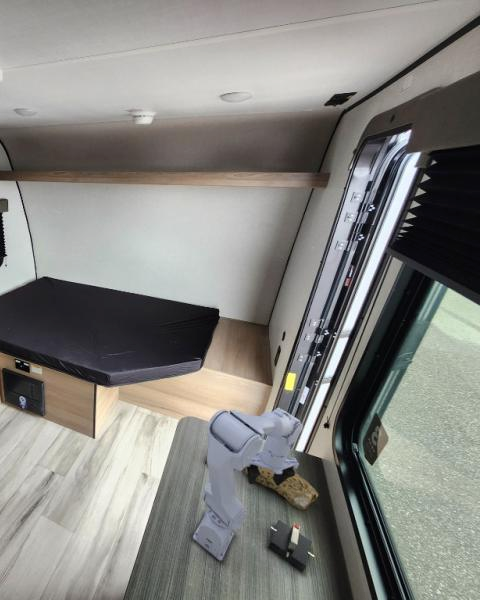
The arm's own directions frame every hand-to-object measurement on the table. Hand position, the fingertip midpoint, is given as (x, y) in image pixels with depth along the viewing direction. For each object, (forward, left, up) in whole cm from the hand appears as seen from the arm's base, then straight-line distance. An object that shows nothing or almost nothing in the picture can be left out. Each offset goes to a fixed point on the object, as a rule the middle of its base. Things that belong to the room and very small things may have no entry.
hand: (263, 482), depth 92 cm
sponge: (+11, -2, -10) cm, 15 cm away
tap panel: (-7, -10, -10) cm, 16 cm away
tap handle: (-7, -10, -7) cm, 14 cm away
